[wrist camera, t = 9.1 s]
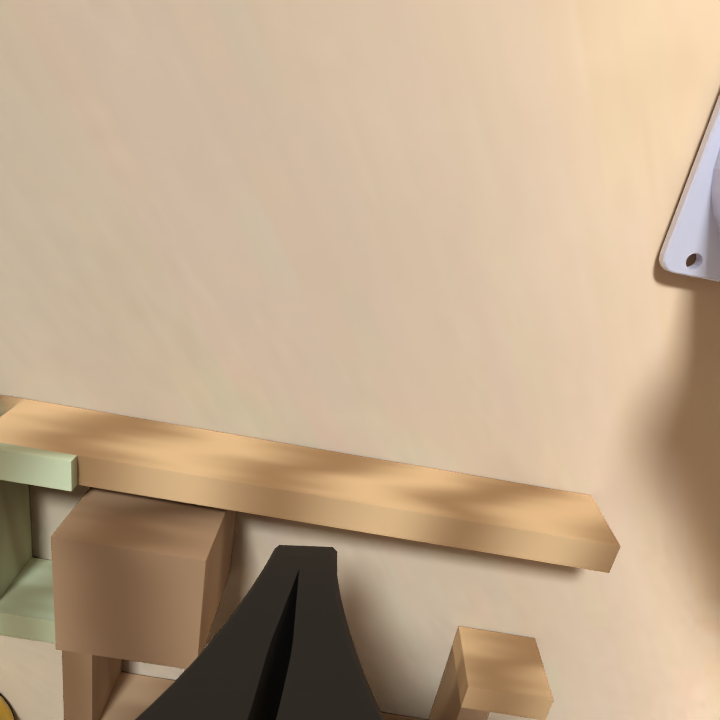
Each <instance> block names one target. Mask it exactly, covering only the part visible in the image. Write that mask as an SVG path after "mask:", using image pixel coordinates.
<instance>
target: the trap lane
mask: <svg viewBox="0 0 720 720" xmlns="http://www.w3.org/2000/svg"><path fill="white" fill-rule="evenodd" d="M29 484H30V485H36V486H42V487H48V488H54V489H60V490H66V491H72V490H73V489H74V488H75V487H76V486H77V485H82V486H88V487H94V488H100V489H106V490H113V491H119V492H125V493H131V494H137V495H143V496H149V497H155V498H161V499H167V500H173V501H179V502H185V503H191V504H197V505H203V506H209V507H215V508H221V509H227V510H233V511H239V512H245V513H251V514H257V515H263V516H269V517H275V518H281V519H287V520H293V521H299V522H305V523H311V524H317V525H323V526H329V527H335V528H341V529H347V530H353V531H359V532H365V533H371V534H377V535H383V536H389V537H395V538H401V539H408V540H414V541H420V542H426V543H432V544H438V545H444V546H450V547H456V548H462V549H468V550H474V551H480V552H486V553H492V554H498V555H504V556H510V557H516V558H522V559H528V560H534V561H540V562H546V563H552V564H558V565H564V566H570V567H576V568H582V569H588V570H594V571H600V572H606V573H609V572H610V570H611V567H612V565H613V563H614V560H615V558H616V556H617V553H618V551H619V549H620V547H621V546H620V545H619V543H618V541H617V539H616V538H615V536H614V534H613V533H612V531H611V529H610V527H609V526H608V524H607V522H606V520H605V519H604V517H603V515H602V513H601V512H600V510H599V508H598V506H597V505H596V503H595V501H594V499H593V498H592V496H591V495H585V494H579V493H573V492H567V491H561V490H555V489H550V488H544V487H538V486H532V485H526V484H520V483H514V482H509V481H503V480H497V479H491V478H485V477H479V476H473V475H467V474H462V473H456V472H450V471H444V470H438V469H432V468H426V467H421V466H415V465H409V464H403V463H397V462H391V461H385V460H380V459H374V458H368V457H362V456H356V455H350V454H344V453H339V452H333V451H327V450H321V449H315V448H309V447H303V446H298V445H292V444H286V443H280V442H274V441H268V440H262V439H256V438H251V437H245V436H239V435H233V434H227V433H221V432H215V431H210V430H204V429H198V428H192V427H186V426H180V425H174V424H169V423H163V422H157V421H151V420H145V419H139V418H133V417H128V416H122V415H116V414H110V413H104V412H98V411H92V410H87V409H81V408H75V407H69V406H63V405H57V404H51V403H45V402H40V401H34V400H28V399H22V398H16V397H10V396H4V395H0V635H3V636H9V637H15V638H22V639H28V640H34V641H41V642H47V643H54V644H56V641H55V619H54V596H53V574H52V560H46V559H40V558H33V557H32V537H31V518H30V498H29ZM62 666H63V701H64V720H135V719H136V718H137V717H138V716H139V715H140V714H141V713H142V712H144V711H145V710H146V709H147V708H148V707H149V706H150V705H151V704H152V703H153V702H154V701H155V700H156V699H157V698H158V697H159V696H160V695H161V694H162V693H163V692H164V691H166V690H167V689H168V688H169V687H170V686H171V685H172V684H173V683H174V682H175V680H169V679H162V678H156V677H149V676H143V675H136V674H130V673H124V672H122V659H117V658H111V657H104V656H97V655H91V654H84V653H77V652H71V651H64V650H62ZM553 701H554V700H553V696H552V693H551V690H550V686H549V683H548V680H547V676H546V673H545V670H544V666H543V663H542V660H541V657H540V653H539V650H538V647H537V643H536V640H535V638H529V637H523V636H517V635H511V634H504V633H498V632H492V631H486V630H480V629H473V628H467V627H461V626H459V627H458V630H457V633H456V636H455V640H454V643H453V646H452V649H451V652H450V655H449V658H448V661H447V664H446V667H445V671H444V674H443V677H442V680H441V683H440V686H439V689H438V692H437V695H436V698H435V702H434V705H433V708H432V711H431V714H430V717H429V720H487V718H488V715H489V713H490V712H494V713H501V714H507V715H514V716H520V717H526V718H533V719H539V720H545V719H546V717H547V714H548V712H549V710H550V707H551V705H552V703H553ZM381 714H382V716H383V718H384V720H426V719H419V718H413V717H407V716H400V715H394V714H387V713H381Z"/></svg>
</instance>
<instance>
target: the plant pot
mask: <svg viewBox="0 0 720 720" xmlns="http://www.w3.org/2000/svg"><path fill="white" fill-rule="evenodd" d="M0 720H14V717H13V714H12V712H11V710H10V708H9V706H8V705H7V703H6V702H5V701H4V699H3V698H2V697H1V696H0Z"/></svg>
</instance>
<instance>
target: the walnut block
mask: <svg viewBox="0 0 720 720" xmlns="http://www.w3.org/2000/svg"><path fill="white" fill-rule="evenodd" d="M235 521H236V511H233V510H227V509H221V508H215V507H209V506H203V505H197V504H191V503H185V502H179V501H173V500H167V499H161V498H155V497H149V496H143V495H137V494H131V493H125V492H119V491H113V490H106V489H100V488H94V487H91V488H90V489H89V490H88V491H87V492H86V494H85V495H84V496H83V497H82V499H81V500H80V501H79V502H78V504H77V505H76V506H75V507H74V509H73V510H72V511H71V512H70V514H69V515H68V516H67V517H66V518H65V520H64V521H63V522H62V523H61V525H60V526H59V527H58V528H57V530H56V531H55V532H54V533H53V535H52V536H51V551H52V574H53V596H54V619H55V641H56V649H57V650H64V651H71V652H77V653H84V654H91V655H97V656H104V657H111V658H117V659H124V660H131V661H137V662H144V663H151V664H157V665H164V666H170V667H177V668H184V669H187V668H188V667H189V666H190V665H191V664H192V663H193V661H194V660H195V659H196V658H197V657H198V656H199V655H200V654H201V652H202V651H203V650H204V647H205V644H206V641H207V638H208V635H209V632H210V629H211V626H212V623H213V620H214V618H215V615H216V612H217V609H218V606H219V603H220V600H221V597H222V594H223V591H224V588H225V585H226V582H227V579H228V576H229V573H230V568H231V558H232V549H233V539H234V530H235Z"/></svg>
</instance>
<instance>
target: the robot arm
mask: <svg viewBox="0 0 720 720" xmlns="http://www.w3.org/2000/svg"><path fill="white" fill-rule="evenodd" d="M694 253H695V254H696V256H697V257H696V261H695V262H694V264H693V265H691V266H688V267H687V266H686V260H687V258H688V257H689V256H690V255H692V254H694ZM659 263H660V265H661V267H662V268H663V269H665V270H667V271H669V272H671V273H675V274H680V275H686V276H691V277H697V278H702V279H707V280H713V281H718V282H720V95H719V98H718V100H717V103H716V106H715V108H714V111H713V114H712V116H711V119H710V121H709V124H708V127H707V129H706V132H705V135H704V137H703V140H702V143H701V145H700V148H699V151H698V153H697V156H696V159H695V161H694V164H693V167H692V169H691V172H690V175H689V177H688V180H687V183H686V185H685V188H684V191H683V193H682V196H681V199H680V201H679V204H678V207H677V209H676V212H675V214H674V217H673V220H672V222H671V225H670V228H669V230H668V233H667V236H666V238H665V241H664V244H663V246H662V249H661V252H660V255H659ZM135 720H384V718H383V716H382V714H381V712H380V710H379V707H378V705H377V703H376V701H375V699H374V696H373V694H372V692H371V689H370V687H369V685H368V682H367V680H366V677H365V675H364V672H363V670H362V667H361V664H360V662H359V659H358V656H357V653H356V650H355V647H354V644H353V641H352V638H351V635H350V632H349V628H348V625H347V621H346V617H345V613H344V609H343V605H342V601H341V596H340V591H339V585H338V579H337V551H336V550H335V549H334V548H333V547H316V546H290V545H279V546H278V547H277V548H275V549H274V551H273V553H272V555H271V557H270V559H269V560H268V562H267V564H266V565H265V567H264V569H263V570H262V572H261V574H260V575H259V577H258V578H257V580H256V581H255V583H254V584H253V586H252V587H251V589H250V590H249V592H248V593H247V595H246V596H245V597H244V599H243V600H242V602H241V603H240V604H239V606H238V607H237V609H236V610H235V611H234V613H233V614H232V615H231V617H230V618H229V619H228V621H227V622H226V623H225V624H224V626H223V627H222V628H221V629H220V631H219V632H218V633H217V634H216V636H215V637H214V638H213V639H212V641H211V642H210V643H209V644H208V645H207V647H206V648H205V649H204V650H203V651H202V652H201V654H200V655H199V656H198V657H197V658H196V659H195V660H194V661H193V663H192V664H191V665H190V666H189V667H188V668H187V669H186V670H185V671H184V672H183V673H182V674H181V675H180V676H179V678H178V679H177V680H176V681H175V682H174V683H173V684H172V685H171V686H170V687H169V688H168V689H167V690H166V691H164V692H163V693H162V694H161V695H160V696H159V697H158V698H157V699H156V700H155V701H154V702H153V703H152V704H151V705H150V706H149V707H148V708H147V709H146V710H145V711H144V712H142V713H141V714H140V715H139V716H138V717H137V718H136V719H135Z"/></svg>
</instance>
